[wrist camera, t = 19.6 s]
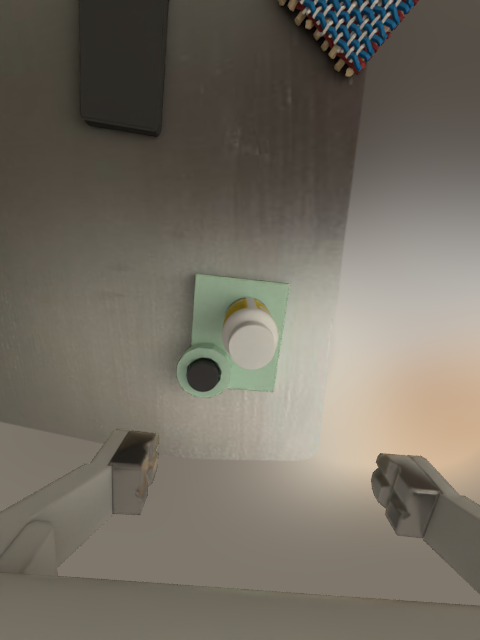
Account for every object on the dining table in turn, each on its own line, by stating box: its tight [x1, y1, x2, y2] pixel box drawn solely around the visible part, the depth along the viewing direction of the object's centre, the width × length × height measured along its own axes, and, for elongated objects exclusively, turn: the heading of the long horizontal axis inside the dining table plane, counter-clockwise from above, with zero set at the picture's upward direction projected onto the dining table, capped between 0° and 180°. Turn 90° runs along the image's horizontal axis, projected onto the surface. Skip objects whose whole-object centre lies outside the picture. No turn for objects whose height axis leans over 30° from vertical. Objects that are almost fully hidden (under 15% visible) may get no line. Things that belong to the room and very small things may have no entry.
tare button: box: [187, 359, 219, 392], centre depth 30 cm, size 4×4×2 cm
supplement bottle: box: [222, 297, 279, 370], centre depth 26 cm, size 5×5×10 cm
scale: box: [177, 274, 290, 398], centre depth 31 cm, size 12×15×3 cm
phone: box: [79, 0, 169, 136], centre depth 24 cm, size 8×1×15 cm
